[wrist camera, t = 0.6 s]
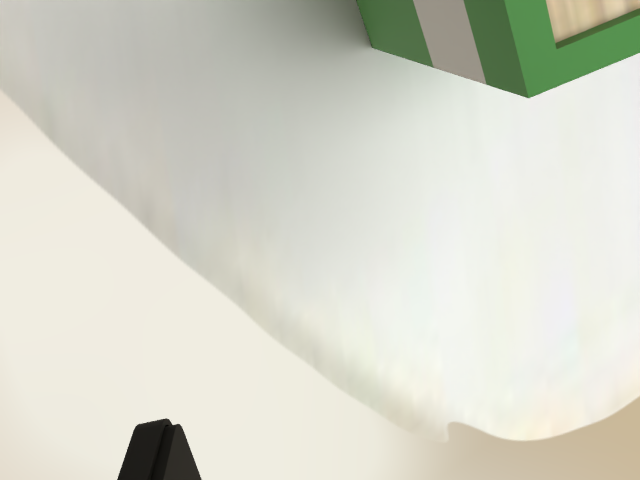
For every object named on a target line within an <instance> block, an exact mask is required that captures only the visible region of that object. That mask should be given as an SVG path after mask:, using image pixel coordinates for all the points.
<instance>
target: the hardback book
mask: <svg viewBox="0 0 640 480" xmlns="http://www.w3.org/2000/svg"><path fill="white" fill-rule="evenodd" d="M356 1H357V4H358V7H359V10H360V13H361V16H362V19H363V22H364V25H365V28H366V30H367V33H368V36H369V39H370V42H371V45H372V48H374V49H378V50H381V51H384V52H387V53H390V54H393V55H396V56H399V57H402V58H406V59H409V60H412V61H415V62H418V63H421V64H424V65H427V66H430V67H433V68H437V69H440V70H443V71H446V72H449V73H452V74H455V75H458V76H461V77H465V78H468V79H471V80H474V81H477V82H480V83H483V84H486V85H489V86H492V87H496V88H499V89H502V90H505V91H508V92H511V93H514V94H517V95H520V96H524V97H527V98H530V97H533V96H535V95H538V94H540V93H543V92H545V91H547V90H550V89H552V88H555V87H557V86H560V85H562V84H564V83H567V82H569V81H572V80H574V79H577V78H579V77H582V76H584V75H586V74H589V73H591V72H594V71H596V70H599V69H601V68H604V67H606V66H608V65H611V64H613V63H616V62H618V61H621V60H623V59H626V58H628V57H630V56H633V55H635V54H638V53H640V0H356Z"/></svg>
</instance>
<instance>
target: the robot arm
mask: <svg viewBox="0 0 640 480" xmlns="http://www.w3.org/2000/svg"><path fill="white" fill-rule="evenodd" d="M117 480H201V477H200V474H199V471H198V469H197V466H196V463H195V461H194V458H193V455H192V453H191V450H190V447H189V444H188V442H187V439H186V436H185V434H184V431H183V429H182V427H181V425H180V424H176V425H172V423H171V422H170V420H169V419H161V420H157V421H152V422H147V423H143V424H138V425H137V426H136V427H135V429H134V431H133V434H132V437H131V441H130V443H129V447H128V449H127V452H126V455H125V458H124V461H123V464H122V468H121V470H120V473H119V476H118V479H117Z"/></svg>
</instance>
